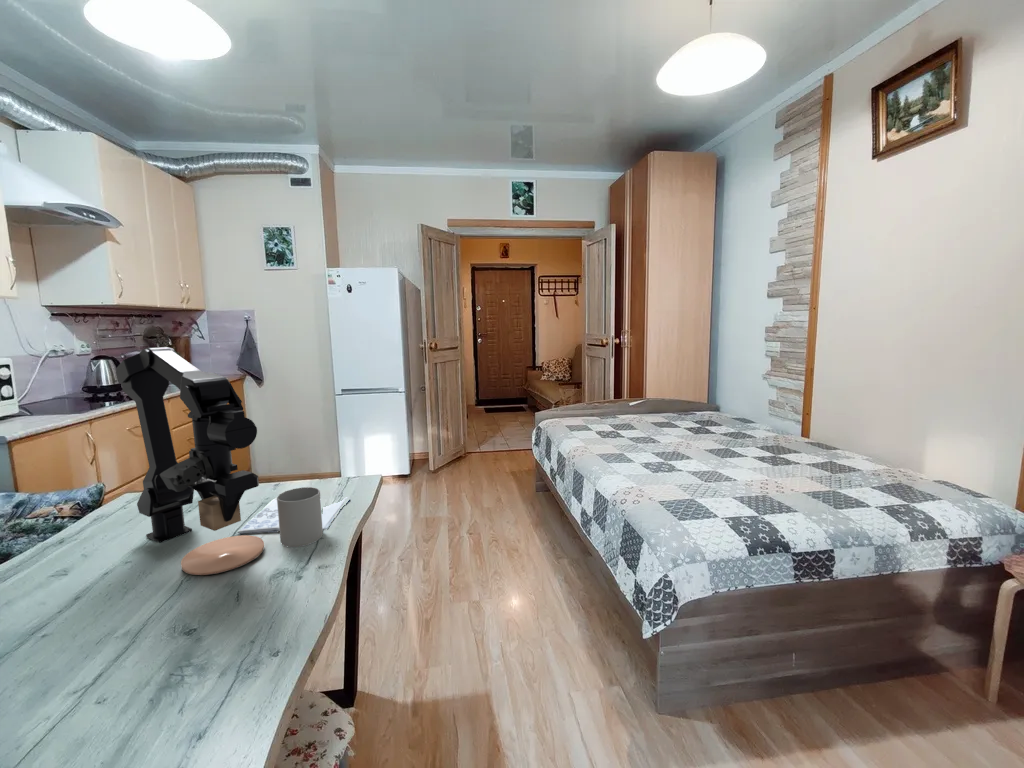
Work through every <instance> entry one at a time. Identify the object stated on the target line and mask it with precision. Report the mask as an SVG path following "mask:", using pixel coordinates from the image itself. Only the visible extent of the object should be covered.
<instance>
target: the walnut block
mask: <svg viewBox="0 0 1024 768" xmlns="http://www.w3.org/2000/svg"><path fill="white" fill-rule="evenodd" d="M197 505H198V514H199V523H200V526H201V527H203V528H206V529H209V530H211V531H215V532H216V531H219V530H220V529H223V528H226V527H229V526H231V525H233V524H236V523H239V522H241V521H242V518H241V508H240V507H241V506H240V502H239V503H238V506H237V508H236V510H235V512H234V515H233V517H232V519H231V520H230V521H227V522H225V521H224V518H223V515H222V511H221V507H220V503H219V499H218V498H217V497H216V496H212V497H209V498H206V499H203V500H202V499H200V500H198V501H197Z"/></svg>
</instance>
